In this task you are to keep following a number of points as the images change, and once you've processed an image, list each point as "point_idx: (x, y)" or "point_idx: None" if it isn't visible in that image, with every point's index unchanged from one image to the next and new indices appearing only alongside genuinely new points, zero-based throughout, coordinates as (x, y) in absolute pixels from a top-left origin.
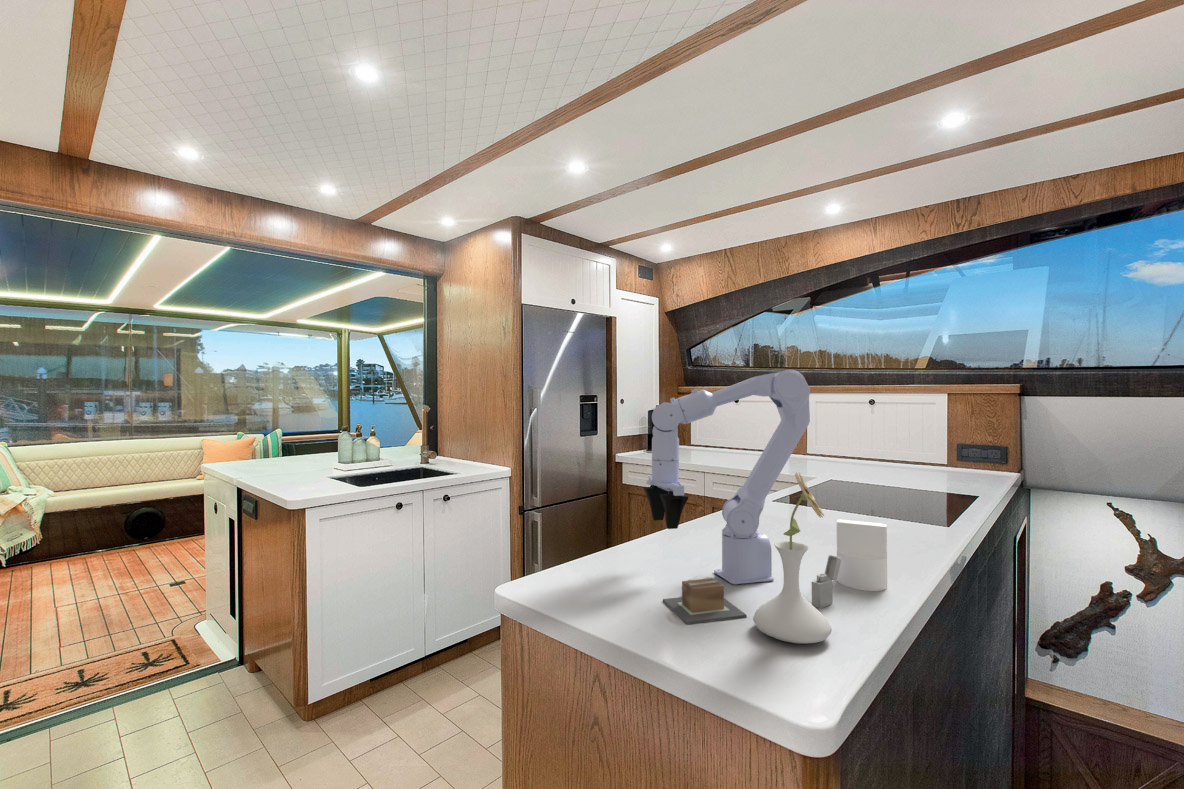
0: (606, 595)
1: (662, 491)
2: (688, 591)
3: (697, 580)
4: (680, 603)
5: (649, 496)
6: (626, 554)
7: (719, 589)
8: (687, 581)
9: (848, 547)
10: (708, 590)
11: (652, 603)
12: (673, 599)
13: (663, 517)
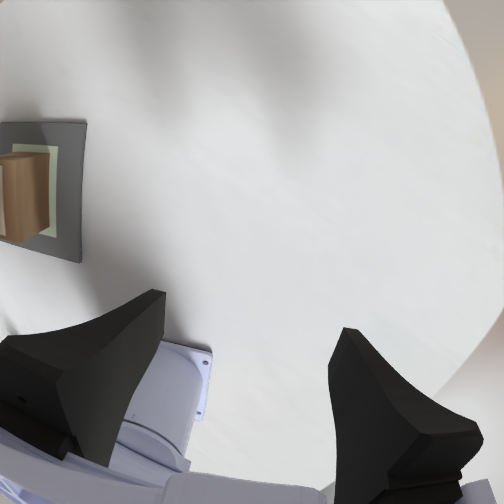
0: (178, 5)
1: (352, 492)
2: (3, 157)
3: (12, 200)
4: (51, 150)
5: (394, 407)
6: (463, 240)
7: None
8: (12, 173)
9: None
10: None
11: (87, 95)
12: (75, 147)
13: (329, 375)
